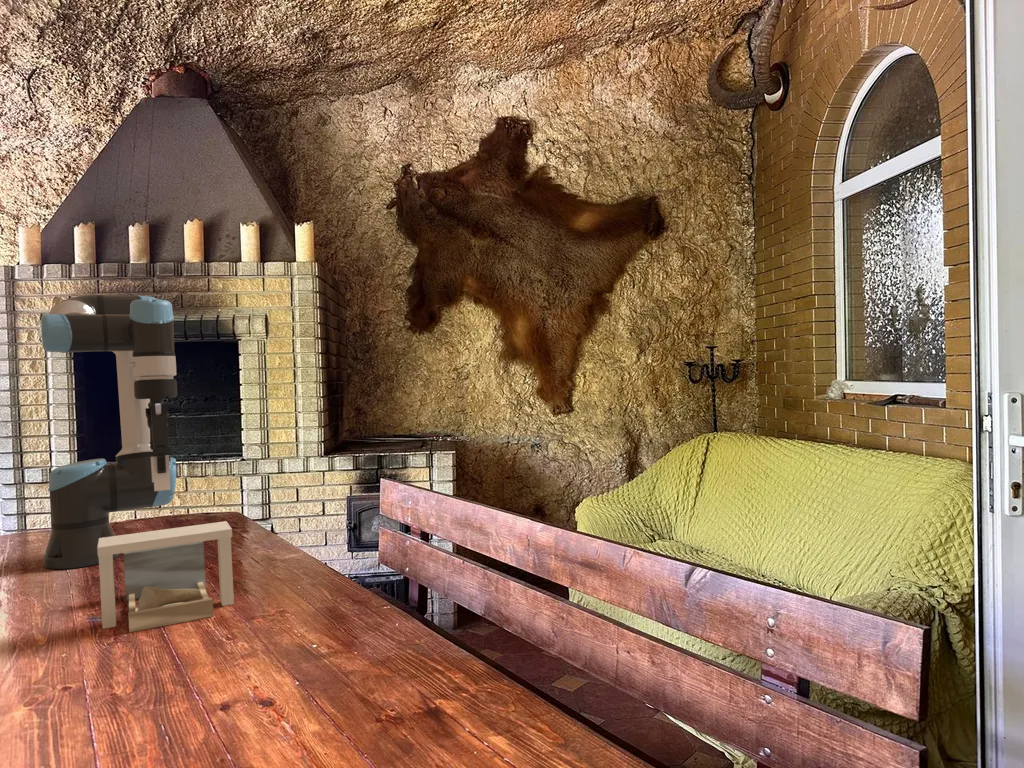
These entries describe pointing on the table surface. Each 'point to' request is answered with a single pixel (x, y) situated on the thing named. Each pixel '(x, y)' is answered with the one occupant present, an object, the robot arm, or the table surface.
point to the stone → (166, 597)
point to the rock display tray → (166, 584)
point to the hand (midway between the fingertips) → (160, 485)
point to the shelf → (158, 540)
